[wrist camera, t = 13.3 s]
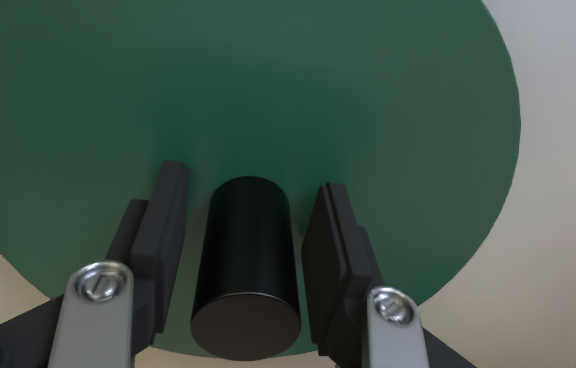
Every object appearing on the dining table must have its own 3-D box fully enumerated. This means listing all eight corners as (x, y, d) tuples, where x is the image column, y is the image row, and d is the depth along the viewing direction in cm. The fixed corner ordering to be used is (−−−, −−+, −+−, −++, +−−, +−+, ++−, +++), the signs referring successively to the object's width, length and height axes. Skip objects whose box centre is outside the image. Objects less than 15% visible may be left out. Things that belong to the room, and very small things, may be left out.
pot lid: (-189, 30, 10) (-561, 134, 6) (496, -271, 8) (834, -521, 3) (152, 371, 20) (120, 512, 15) (506, 280, 18) (595, 415, 13)
